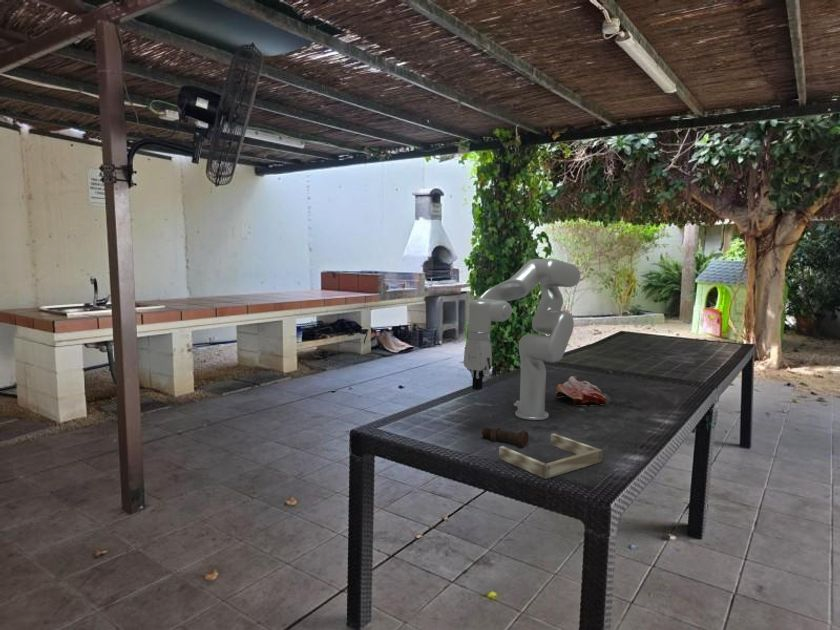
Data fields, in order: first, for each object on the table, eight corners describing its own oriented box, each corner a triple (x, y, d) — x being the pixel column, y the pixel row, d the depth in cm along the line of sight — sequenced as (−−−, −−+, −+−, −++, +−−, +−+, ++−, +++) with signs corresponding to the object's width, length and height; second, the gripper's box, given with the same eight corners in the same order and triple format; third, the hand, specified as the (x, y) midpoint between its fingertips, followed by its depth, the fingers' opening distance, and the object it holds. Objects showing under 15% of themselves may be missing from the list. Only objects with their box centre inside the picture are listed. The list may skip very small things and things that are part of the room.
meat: (616, 401, 231) (617, 378, 230) (595, 411, 215) (597, 386, 214) (571, 393, 244) (571, 371, 243) (548, 401, 229) (549, 378, 228)
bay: (498, 458, 160) (499, 446, 160) (553, 444, 174) (554, 433, 173) (545, 479, 145) (546, 466, 145) (601, 461, 158) (602, 450, 158)
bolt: (484, 442, 180) (526, 450, 172) (478, 438, 177) (520, 446, 168) (488, 425, 182) (530, 432, 174) (482, 421, 179) (524, 428, 170)
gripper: (456, 334, 188) (455, 386, 189) (485, 339, 175) (483, 394, 177) (473, 333, 192) (471, 384, 193) (502, 338, 179) (500, 392, 181)
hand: (477, 389), depth 185 cm, fingers closed
